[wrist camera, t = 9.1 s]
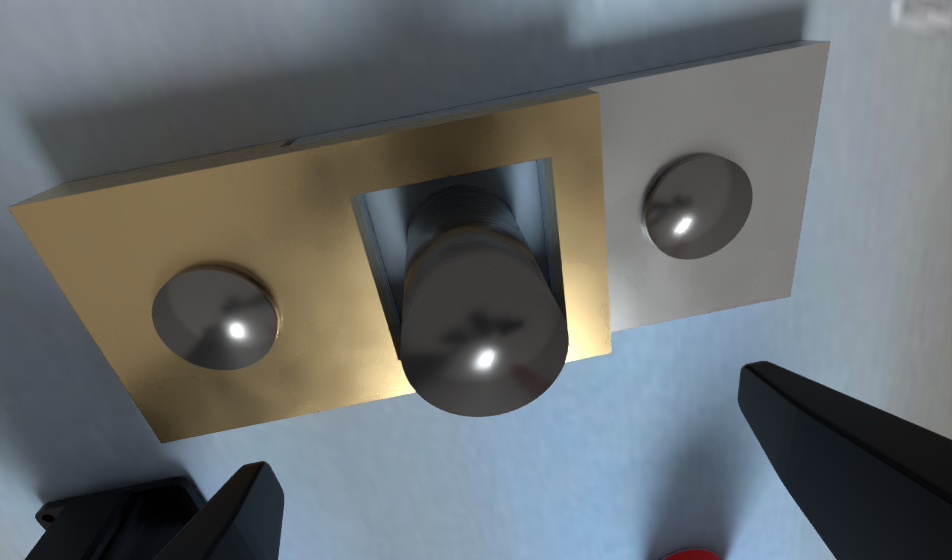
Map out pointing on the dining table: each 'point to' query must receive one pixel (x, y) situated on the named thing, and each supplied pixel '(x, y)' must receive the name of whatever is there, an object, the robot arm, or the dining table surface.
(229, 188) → the upper chain link
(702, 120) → the lower chain link
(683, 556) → the beverage can
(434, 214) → the pin
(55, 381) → the dining table surface
